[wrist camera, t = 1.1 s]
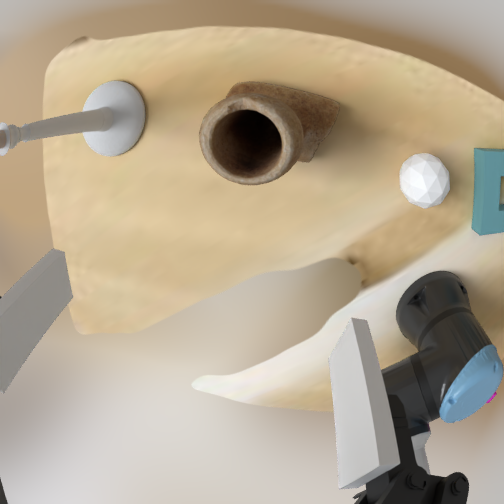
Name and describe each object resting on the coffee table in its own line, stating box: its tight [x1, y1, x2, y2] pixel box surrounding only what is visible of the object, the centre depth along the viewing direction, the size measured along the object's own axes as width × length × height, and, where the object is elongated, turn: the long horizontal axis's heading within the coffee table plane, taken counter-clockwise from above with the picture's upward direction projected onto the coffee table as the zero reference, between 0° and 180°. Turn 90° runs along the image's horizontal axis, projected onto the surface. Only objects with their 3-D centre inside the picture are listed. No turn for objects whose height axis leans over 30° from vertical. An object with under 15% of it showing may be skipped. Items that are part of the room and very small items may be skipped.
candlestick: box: [0, 81, 145, 156], centre depth 26 cm, size 13×13×30 cm
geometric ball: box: [399, 153, 450, 209], centre depth 34 cm, size 8×8×8 cm
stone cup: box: [199, 82, 340, 185], centre depth 31 cm, size 15×12×15 cm
